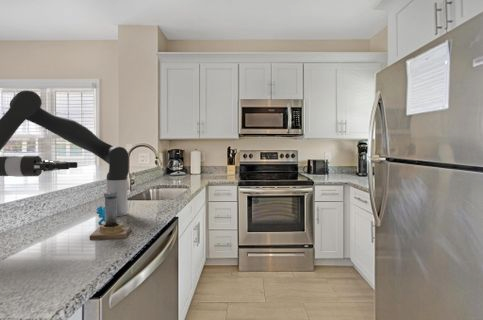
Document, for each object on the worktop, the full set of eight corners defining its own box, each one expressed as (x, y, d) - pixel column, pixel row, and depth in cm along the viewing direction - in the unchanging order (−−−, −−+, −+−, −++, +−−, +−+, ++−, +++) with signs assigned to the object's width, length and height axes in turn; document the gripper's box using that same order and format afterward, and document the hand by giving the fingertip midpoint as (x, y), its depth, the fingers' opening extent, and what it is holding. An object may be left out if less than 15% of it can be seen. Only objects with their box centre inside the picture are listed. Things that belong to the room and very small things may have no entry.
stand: (98, 231, 122) (98, 222, 122) (130, 229, 124) (130, 220, 124) (89, 239, 110) (89, 230, 110) (125, 238, 112) (125, 228, 112)
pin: (105, 229, 119) (105, 192, 118) (119, 228, 120) (118, 192, 119) (102, 232, 114) (102, 194, 113) (116, 231, 115) (116, 194, 114)
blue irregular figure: (108, 223, 127) (94, 205, 130) (98, 233, 128) (84, 215, 130) (123, 221, 138) (110, 204, 140) (114, 230, 139) (101, 213, 141)
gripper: (13, 155, 104) (66, 155, 107) (33, 155, 118) (79, 155, 121) (13, 178, 105) (66, 177, 108) (33, 174, 119) (79, 174, 122)
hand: (73, 165), depth 115 cm, fingers open, 8 cm apart
